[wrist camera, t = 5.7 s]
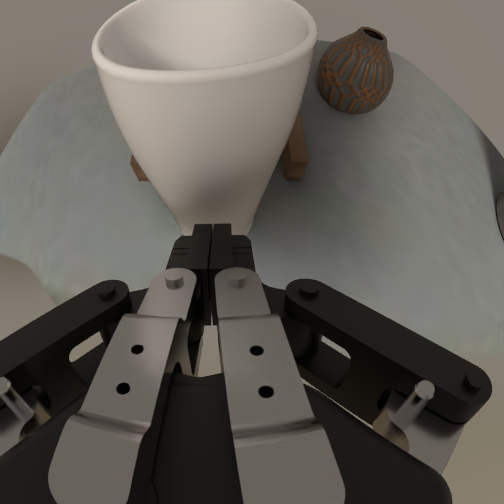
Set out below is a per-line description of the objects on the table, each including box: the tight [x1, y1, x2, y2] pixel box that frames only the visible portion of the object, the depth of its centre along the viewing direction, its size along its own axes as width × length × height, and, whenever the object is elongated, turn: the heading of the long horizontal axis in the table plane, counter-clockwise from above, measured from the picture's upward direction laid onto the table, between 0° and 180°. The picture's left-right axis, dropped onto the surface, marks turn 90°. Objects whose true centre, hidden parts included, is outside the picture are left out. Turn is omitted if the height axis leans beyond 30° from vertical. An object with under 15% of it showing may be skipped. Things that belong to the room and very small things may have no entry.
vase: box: [318, 27, 393, 114], centre depth 21 cm, size 7×7×9 cm
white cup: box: [91, 0, 318, 236], centre depth 13 cm, size 7×7×15 cm
